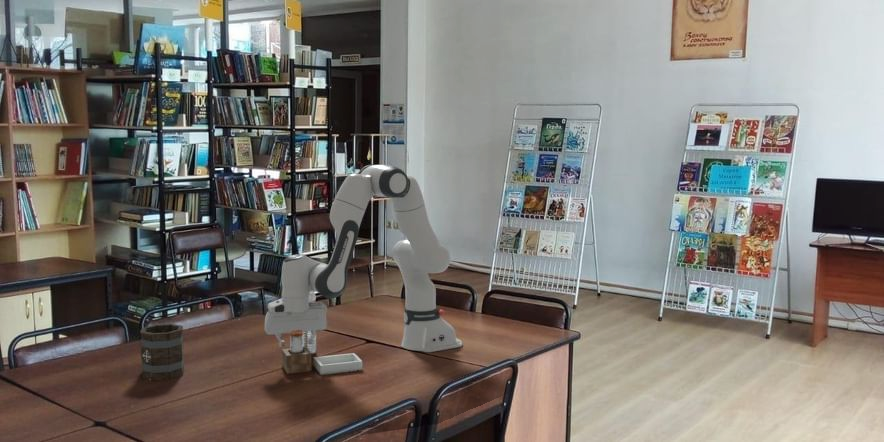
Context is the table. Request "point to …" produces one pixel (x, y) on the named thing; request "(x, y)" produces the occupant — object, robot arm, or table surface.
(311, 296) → the water bottle
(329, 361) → the tray
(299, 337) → the pin
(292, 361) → the block
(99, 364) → the table surface
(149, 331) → the mug
